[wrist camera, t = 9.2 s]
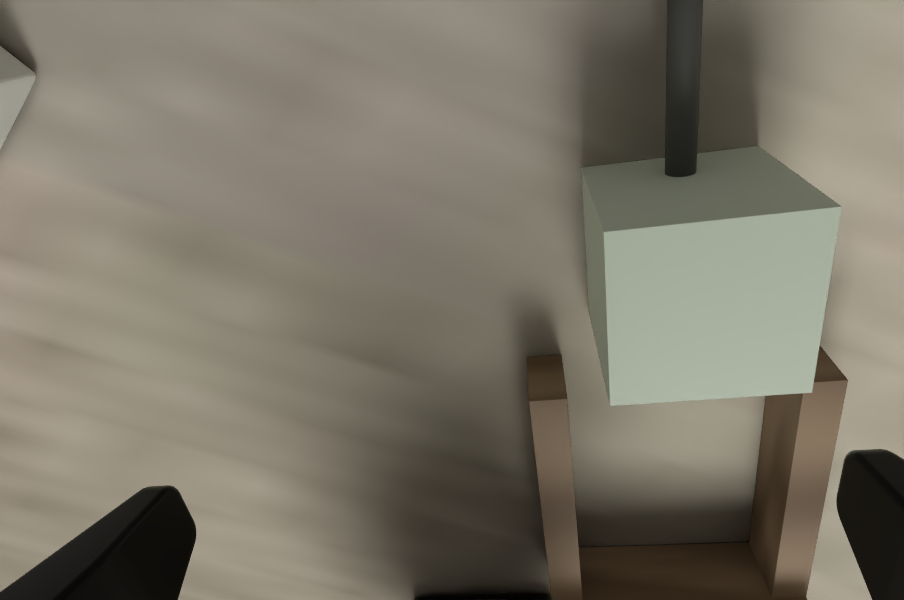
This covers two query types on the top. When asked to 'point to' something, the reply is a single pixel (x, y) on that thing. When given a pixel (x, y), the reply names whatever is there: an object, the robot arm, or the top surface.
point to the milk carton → (12, 90)
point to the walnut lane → (696, 565)
